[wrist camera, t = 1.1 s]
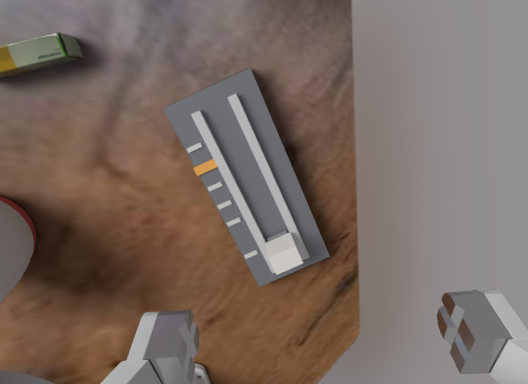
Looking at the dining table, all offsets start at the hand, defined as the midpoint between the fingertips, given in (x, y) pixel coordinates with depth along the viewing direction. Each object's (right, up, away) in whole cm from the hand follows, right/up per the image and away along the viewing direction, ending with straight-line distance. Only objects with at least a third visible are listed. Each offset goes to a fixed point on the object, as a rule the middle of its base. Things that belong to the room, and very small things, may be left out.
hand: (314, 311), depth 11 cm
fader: (+1, -4, +39) cm, 39 cm away
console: (-3, +5, +39) cm, 39 cm away
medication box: (-30, +21, +31) cm, 48 cm away
